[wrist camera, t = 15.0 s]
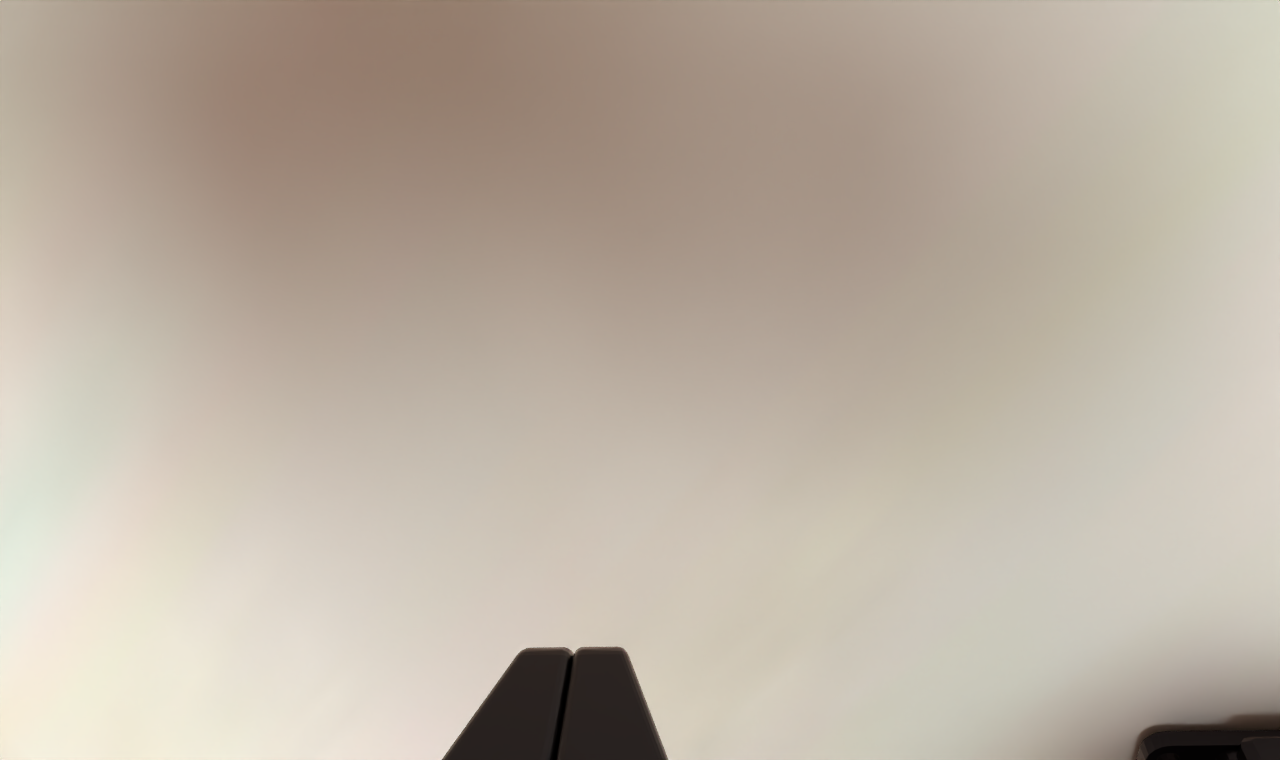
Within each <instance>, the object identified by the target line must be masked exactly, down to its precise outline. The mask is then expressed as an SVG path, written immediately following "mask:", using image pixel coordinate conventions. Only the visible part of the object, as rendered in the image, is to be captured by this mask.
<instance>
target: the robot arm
mask: <svg viewBox="0 0 1280 760" xmlns="http://www.w3.org/2000/svg"><path fill="white" fill-rule="evenodd" d="M442 760H668V758H667V755H666V753H665V750H664V747H663V745H662V742H661V740H660V737H659V734H658V732H657V729H656V726H655V724H654V721H653V719H652V716H651V713H650V711H649V708H648V705H647V703H646V700H645V698H644V695H643V692H642V690H641V687H640V684H639V682H638V679H637V677H636V674H635V671H634V669H633V666H632V663H631V661H630V658H629V656H628V654H627V652H626V651H625V650H624V649H623V648H621V647H582V648H579V649H578V650H576V652H575V654H573V652H572V651H571V650H570V649H568V648H565V647H550V648H526V649H524V650H522V651H521V652H520V653H519V654H518V655H517V656H516V657H515V659H514V660H513V661H512V663H511V664H510V666H509V667H508V668H507V670H506V671H505V673H504V674H503V675H502V677H501V678H500V680H499V681H498V682H497V684H496V685H495V687H494V688H493V689H492V691H491V692H490V693H489V695H488V696H487V698H486V699H485V700H484V702H483V703H482V705H481V706H480V707H479V709H478V710H477V712H476V713H475V714H474V716H473V717H472V718H471V720H470V721H469V723H468V724H467V725H466V727H465V728H464V730H463V731H462V732H461V734H460V735H459V737H458V738H457V739H456V741H455V742H454V744H453V745H452V746H451V748H450V749H449V750H448V752H447V753H446V755H445V756H444V757H443V759H442ZM1136 760H1280V730H1264V731H1166V732H1158V733H1155V734H1153V735H1150V736H1148V737H1147V738H1146V739H1144V740H1143V741H1142V743H1141V745H1140V747H1139V751H1138V755H1137V759H1136Z"/></svg>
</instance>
